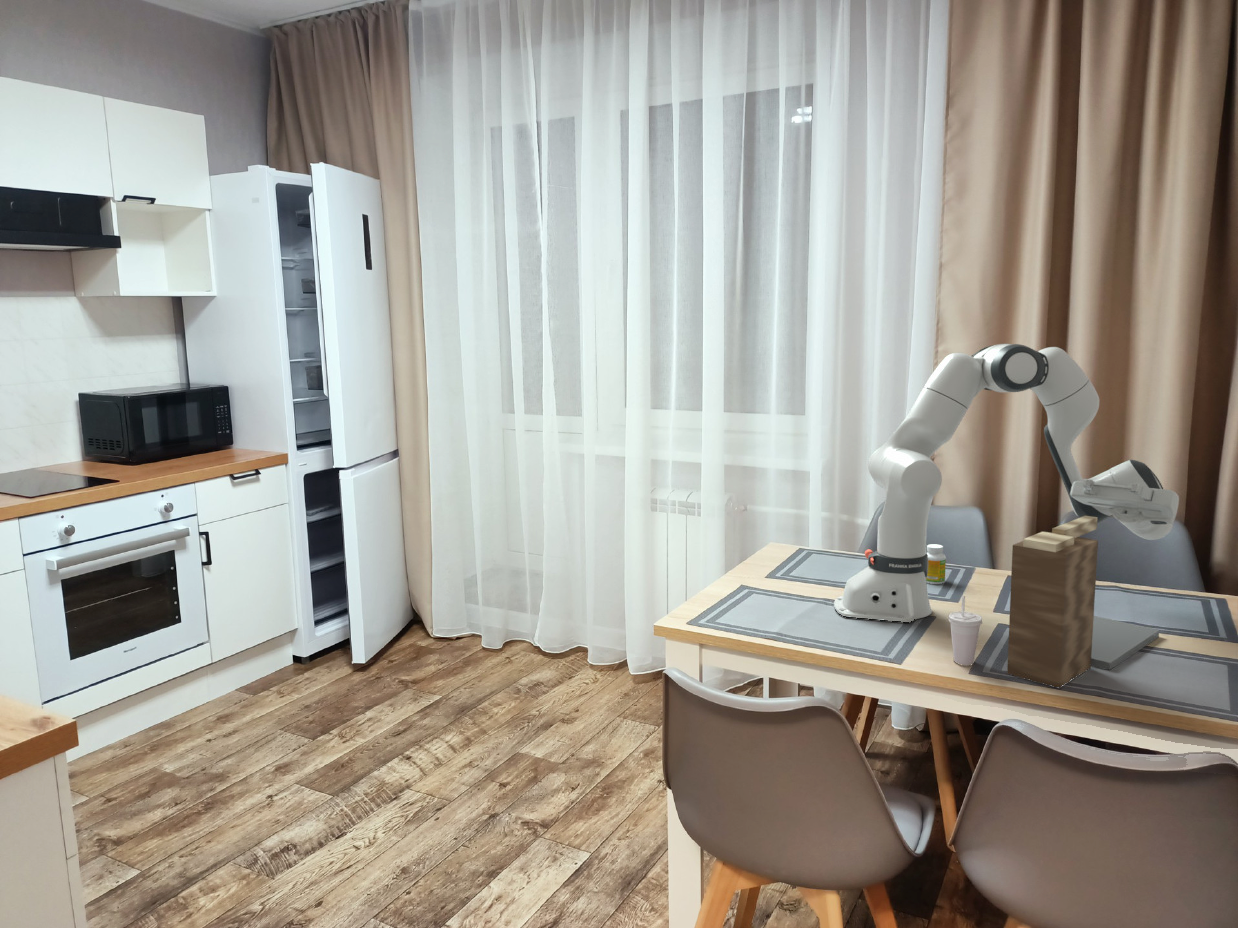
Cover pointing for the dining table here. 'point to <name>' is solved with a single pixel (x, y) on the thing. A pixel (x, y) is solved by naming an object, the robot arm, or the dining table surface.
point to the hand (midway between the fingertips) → (1110, 485)
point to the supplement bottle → (936, 564)
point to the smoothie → (964, 635)
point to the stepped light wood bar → (1061, 535)
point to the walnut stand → (1052, 612)
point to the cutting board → (1117, 641)
